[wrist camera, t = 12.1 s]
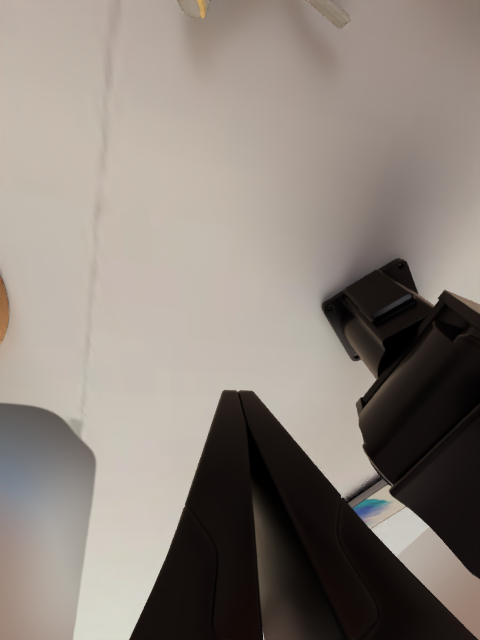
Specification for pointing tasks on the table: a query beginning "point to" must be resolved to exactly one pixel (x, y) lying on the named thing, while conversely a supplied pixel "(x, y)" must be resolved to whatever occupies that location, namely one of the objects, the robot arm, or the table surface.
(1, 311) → the saucepan
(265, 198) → the table surface
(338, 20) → the frying pan
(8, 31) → the table surface
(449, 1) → the table surface
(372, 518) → the smartphone
